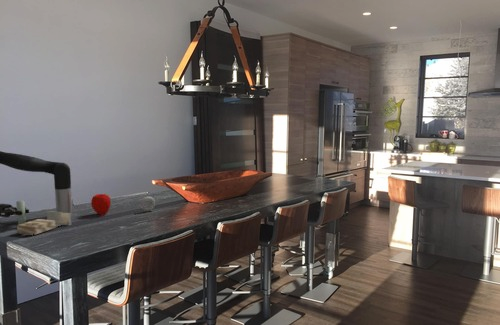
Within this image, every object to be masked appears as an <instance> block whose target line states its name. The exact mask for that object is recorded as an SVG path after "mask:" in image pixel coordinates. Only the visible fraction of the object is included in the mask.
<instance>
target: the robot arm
mask: <svg viewBox="0 0 500 325" xmlns="http://www.w3.org/2000/svg"><path fill="white" fill-rule="evenodd" d="M0 165H4V166H7V167H9V168H13V169H15V170H17V171H18V170H19V171H24V172H30V173H31V172H32V173H45V174H51V175H53V180H54V184H53V185H54V193H55V194H54V197H55V212H66V213H71V216H72V215H74V201H73V200H74V199H73V198H72V182H71V181H72V180H71V168H70V165H68V164H67V163H65V162H59V161H57V162H56V161H51V160H45V159H41V158H40V157H39V158H38V157H34V156H30V155H25V154H19V153H15V152H14V153H13V152H6V151H5V152H4V151H1V150H0ZM25 214H30V209H29V208H27V207H26V206H25ZM16 215H22V211H17V206H13V205H12V204H10V203H1V202H0V217H1V218H9V217H13V216H16Z"/></svg>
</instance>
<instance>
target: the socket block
mask: <svg viewBox="0 0 500 325" xmlns="http://www.w3.org/2000/svg"><path fill="white" fill-rule="evenodd" d="M56 228H57V227H56V224H55V221H54V220H47V219H42V218H37V219H33V220H29V221H26V223H23V224H20V225H18V224H17V225H16V229H17V231H16V233H17V234H19V233H25V234H34V235H33V236H35V235H38V234H41V233H44V232H47V231H50V230H53V229H56Z"/></svg>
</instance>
